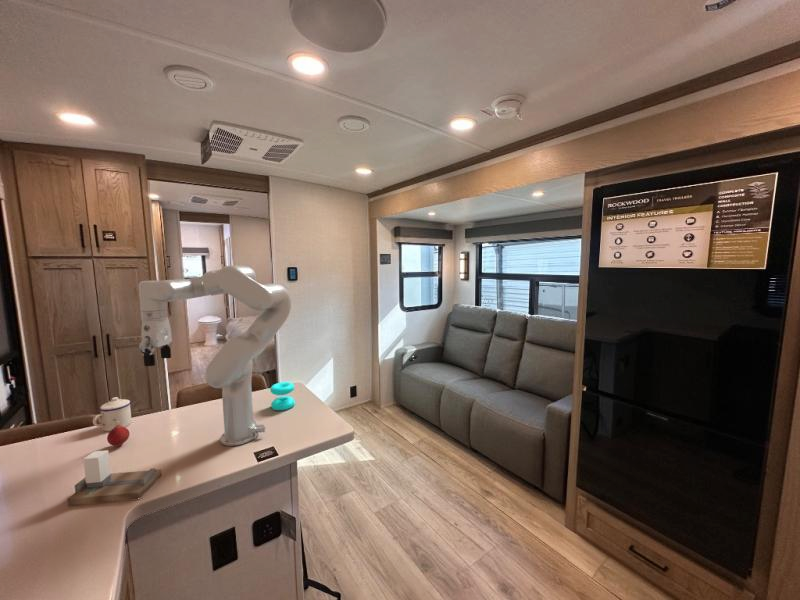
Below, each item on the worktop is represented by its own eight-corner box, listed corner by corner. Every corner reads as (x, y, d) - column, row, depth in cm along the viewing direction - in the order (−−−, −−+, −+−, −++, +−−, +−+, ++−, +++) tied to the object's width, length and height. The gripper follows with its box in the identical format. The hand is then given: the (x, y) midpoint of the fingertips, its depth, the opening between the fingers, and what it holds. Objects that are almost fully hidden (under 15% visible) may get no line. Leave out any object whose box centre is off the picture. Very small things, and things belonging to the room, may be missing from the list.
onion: (117, 451, 110) (114, 429, 109) (103, 449, 111) (101, 427, 110) (134, 442, 115) (132, 421, 114) (121, 441, 116) (119, 419, 116)
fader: (112, 478, 92) (109, 450, 91) (102, 487, 88) (98, 457, 87) (96, 480, 91) (93, 451, 90) (85, 488, 88) (82, 458, 87)
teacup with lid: (123, 419, 133) (120, 392, 132) (137, 422, 130) (135, 394, 129) (87, 433, 122) (83, 403, 121) (102, 437, 119) (99, 407, 118)
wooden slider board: (161, 475, 96) (160, 463, 96) (139, 499, 87) (137, 485, 86) (98, 481, 94) (96, 468, 94) (68, 506, 84) (66, 491, 84)
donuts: (293, 387, 140) (268, 390, 137) (294, 410, 141) (269, 412, 138) (294, 380, 149) (271, 382, 147) (295, 401, 150) (273, 403, 148)
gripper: (150, 318, 107) (155, 368, 109) (179, 311, 124) (182, 355, 126) (125, 319, 106) (130, 369, 108) (157, 312, 123) (161, 355, 125)
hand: (158, 361), depth 117 cm, fingers open, 9 cm apart
